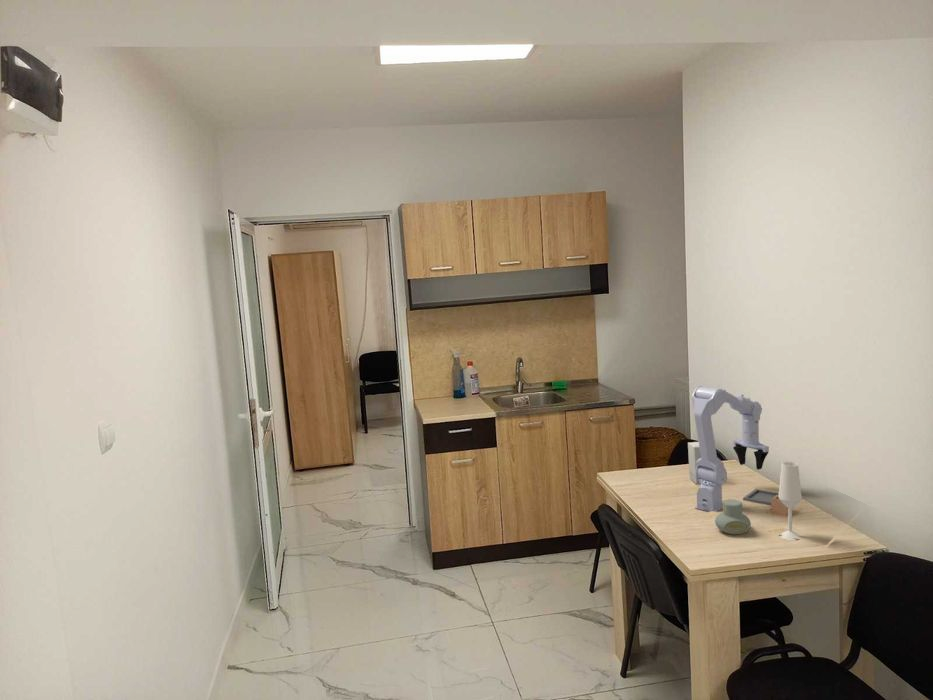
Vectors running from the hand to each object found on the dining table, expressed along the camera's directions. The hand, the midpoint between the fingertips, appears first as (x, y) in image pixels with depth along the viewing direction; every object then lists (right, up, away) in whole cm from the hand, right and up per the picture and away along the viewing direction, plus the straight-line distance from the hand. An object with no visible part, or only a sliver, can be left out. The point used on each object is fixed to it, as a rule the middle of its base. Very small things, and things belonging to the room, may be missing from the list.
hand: (750, 466), depth 254 cm
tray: (+2, -11, -8) cm, 14 cm away
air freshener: (-20, -16, -34) cm, 42 cm away
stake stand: (+1, -13, -22) cm, 25 cm away
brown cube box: (+1, -12, -22) cm, 25 cm away
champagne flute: (-5, -16, -41) cm, 44 cm away
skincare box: (-14, -9, +17) cm, 24 cm away
